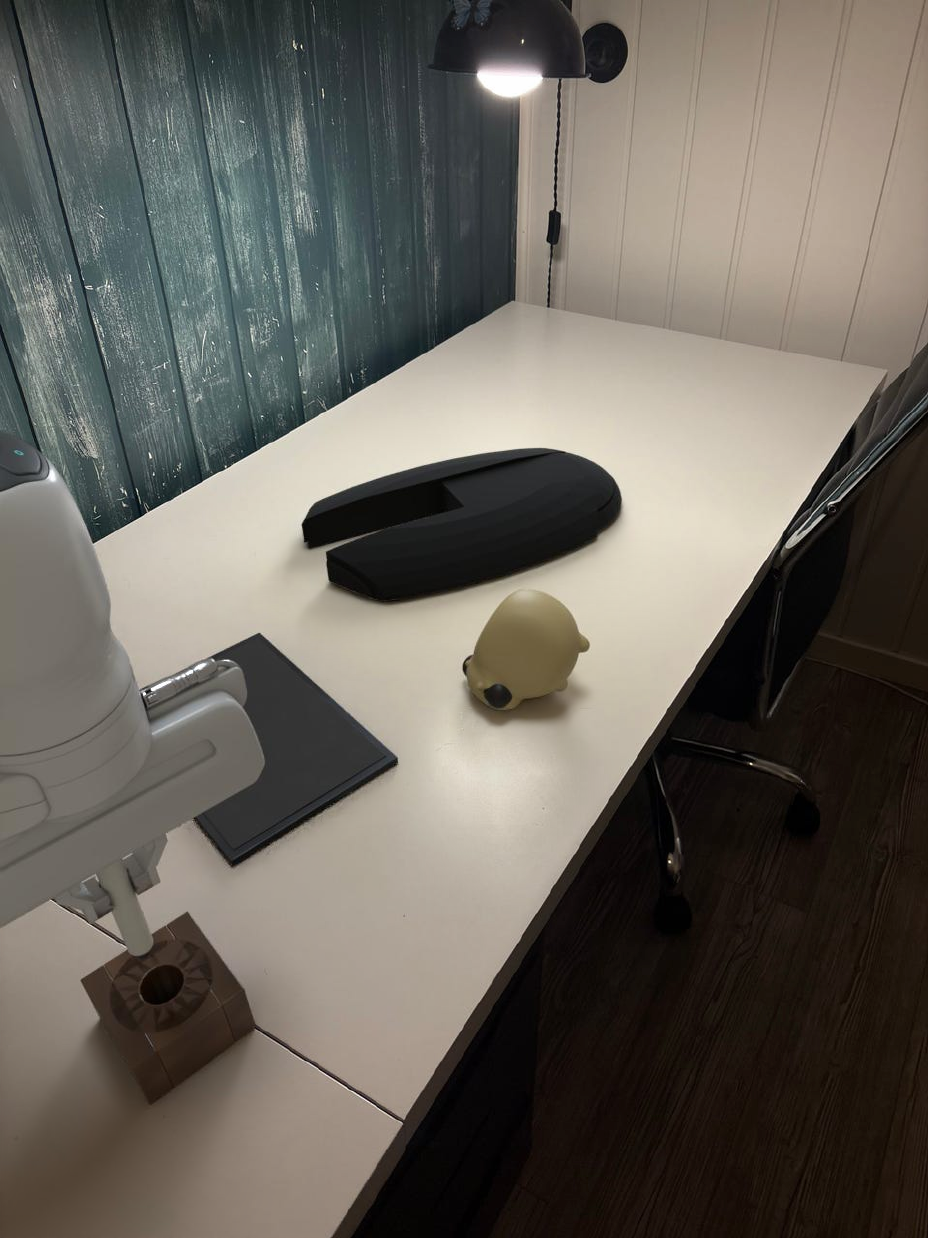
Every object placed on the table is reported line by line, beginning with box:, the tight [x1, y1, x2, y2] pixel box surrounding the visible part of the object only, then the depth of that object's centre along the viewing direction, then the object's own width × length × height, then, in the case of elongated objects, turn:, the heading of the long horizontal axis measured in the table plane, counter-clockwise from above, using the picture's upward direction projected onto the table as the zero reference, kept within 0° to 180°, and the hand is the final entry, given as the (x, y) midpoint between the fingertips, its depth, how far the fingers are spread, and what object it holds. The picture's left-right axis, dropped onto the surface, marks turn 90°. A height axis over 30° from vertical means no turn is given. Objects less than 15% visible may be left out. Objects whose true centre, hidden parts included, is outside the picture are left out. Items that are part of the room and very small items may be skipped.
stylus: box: [95, 858, 153, 959], centre depth 54 cm, size 2×2×14 cm
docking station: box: [301, 447, 623, 602], centre depth 113 cm, size 25×41×5 cm, turn 116°
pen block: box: [80, 911, 257, 1106], centre depth 63 cm, size 8×8×5 cm
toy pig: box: [461, 588, 591, 711], centre depth 88 cm, size 10×12×11 cm
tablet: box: [175, 632, 399, 867], centre depth 86 cm, size 17×24×1 cm
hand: (120, 896), depth 55 cm, fingers closed on stylus, 1 cm apart
